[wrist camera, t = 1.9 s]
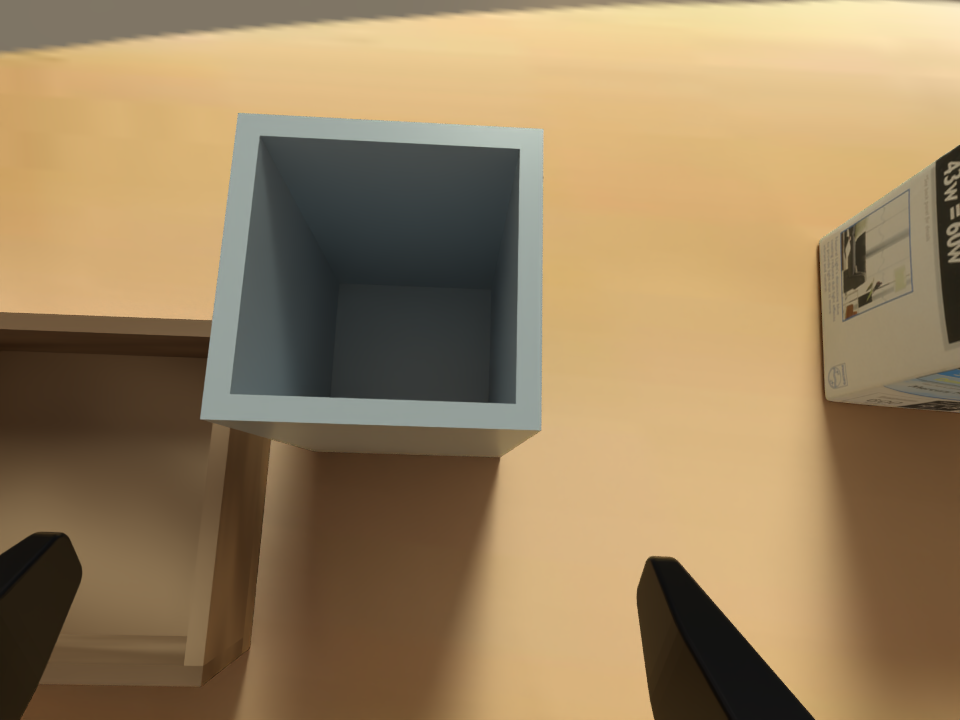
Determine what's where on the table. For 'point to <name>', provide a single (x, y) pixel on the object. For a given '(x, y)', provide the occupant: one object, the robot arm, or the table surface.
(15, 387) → the walnut crate
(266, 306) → the grey crate
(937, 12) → the table surface
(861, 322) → the light bulb box
